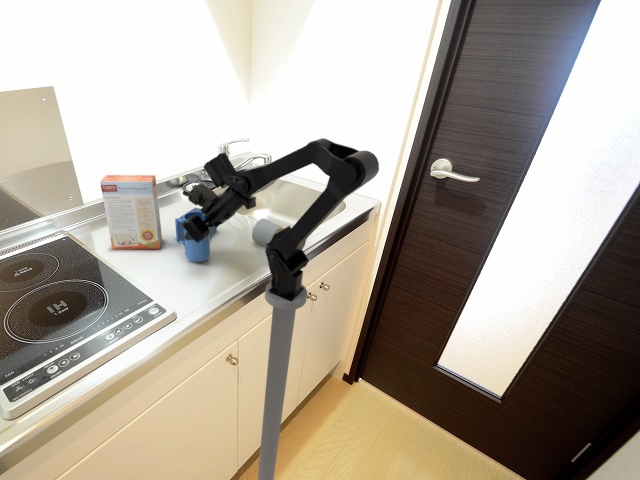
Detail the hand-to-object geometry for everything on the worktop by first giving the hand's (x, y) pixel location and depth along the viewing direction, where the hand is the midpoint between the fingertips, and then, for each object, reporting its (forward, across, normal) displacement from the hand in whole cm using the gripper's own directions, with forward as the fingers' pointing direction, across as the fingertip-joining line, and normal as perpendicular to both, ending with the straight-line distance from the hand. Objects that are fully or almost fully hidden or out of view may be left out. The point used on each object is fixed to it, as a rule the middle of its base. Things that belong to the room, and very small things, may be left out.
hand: (192, 233), depth 100 cm
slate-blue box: (+10, -10, +1) cm, 14 cm away
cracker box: (+19, +1, -8) cm, 21 cm away
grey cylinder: (-6, -19, +17) cm, 26 cm away
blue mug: (+5, 0, +4) cm, 7 cm away
